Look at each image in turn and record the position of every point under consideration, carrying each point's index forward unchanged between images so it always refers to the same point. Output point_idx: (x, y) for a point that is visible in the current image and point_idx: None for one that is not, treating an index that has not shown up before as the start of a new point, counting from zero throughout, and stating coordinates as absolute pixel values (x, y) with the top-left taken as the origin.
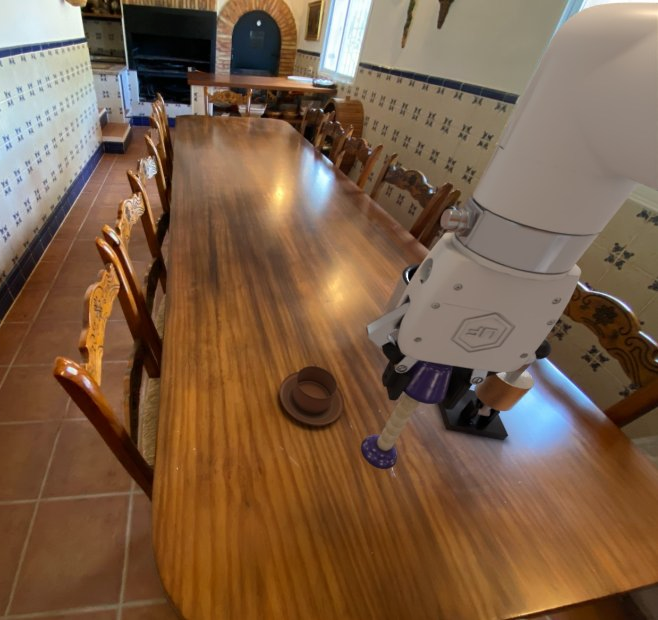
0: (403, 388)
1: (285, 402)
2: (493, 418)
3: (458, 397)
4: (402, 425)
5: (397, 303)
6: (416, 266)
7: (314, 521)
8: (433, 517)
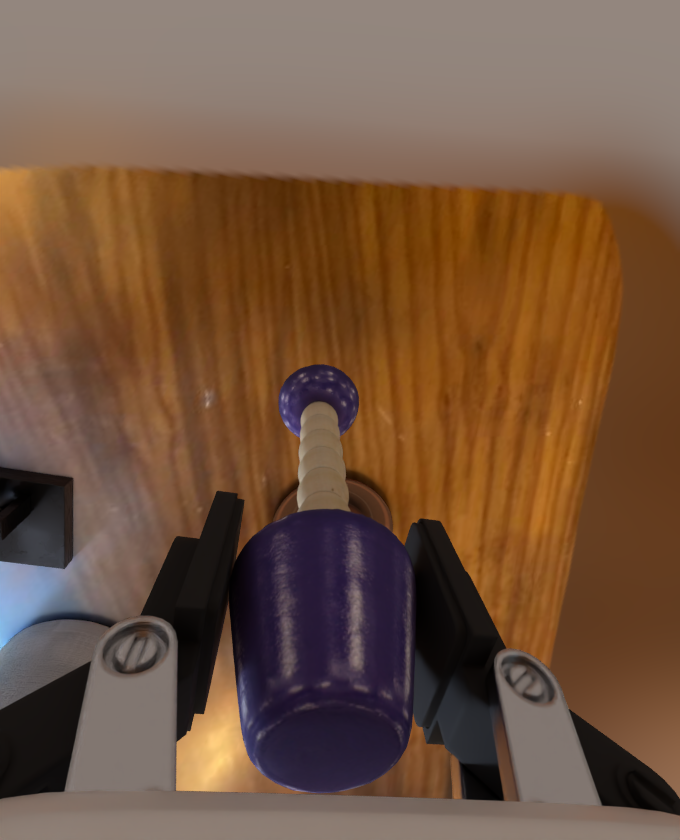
0: (437, 569)
1: (380, 518)
2: None
3: (214, 541)
4: (321, 450)
5: None
6: None
7: (373, 317)
8: (155, 320)
